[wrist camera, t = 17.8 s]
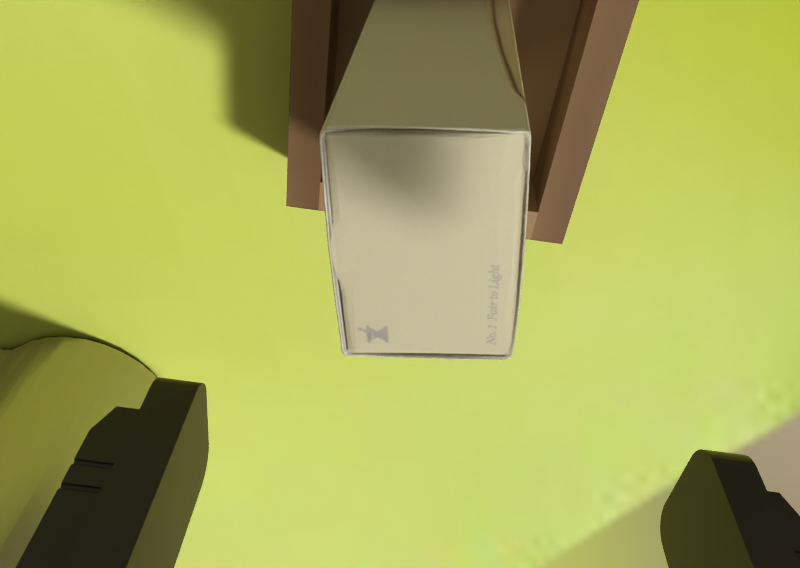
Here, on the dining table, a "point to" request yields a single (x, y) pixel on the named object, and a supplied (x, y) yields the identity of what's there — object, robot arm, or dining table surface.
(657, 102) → the dining table surface
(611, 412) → the dining table surface
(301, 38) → the dock
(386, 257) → the skincare box
